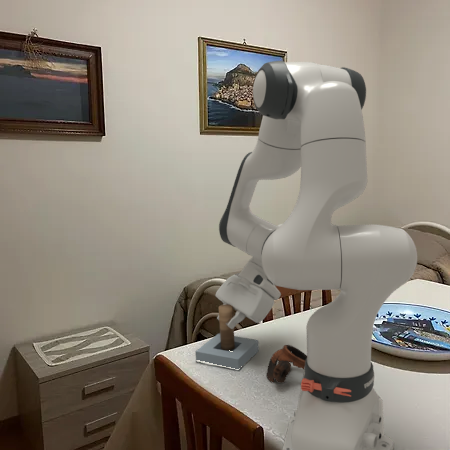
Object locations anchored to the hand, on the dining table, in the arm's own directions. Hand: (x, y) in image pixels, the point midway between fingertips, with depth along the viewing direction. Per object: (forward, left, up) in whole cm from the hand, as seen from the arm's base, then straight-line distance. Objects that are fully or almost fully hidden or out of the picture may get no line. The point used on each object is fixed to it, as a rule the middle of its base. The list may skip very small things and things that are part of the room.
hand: (224, 323), depth 116 cm
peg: (+1, 0, -7) cm, 7 cm away
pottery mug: (-5, -18, -9) cm, 21 cm away
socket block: (0, 0, -9) cm, 9 cm away
